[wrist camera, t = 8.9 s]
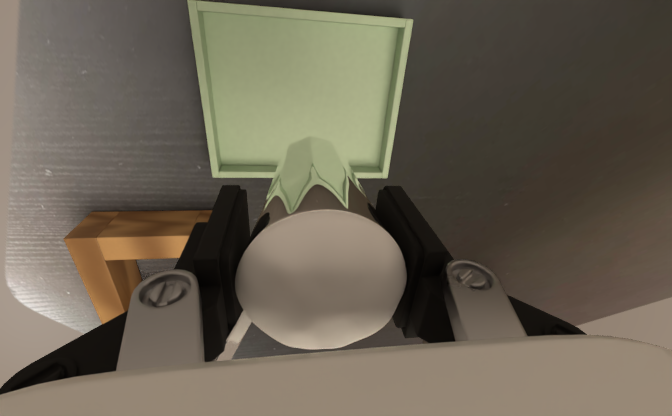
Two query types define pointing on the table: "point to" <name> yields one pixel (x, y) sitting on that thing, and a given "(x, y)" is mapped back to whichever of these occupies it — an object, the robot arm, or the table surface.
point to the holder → (125, 251)
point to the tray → (297, 84)
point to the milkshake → (317, 257)
